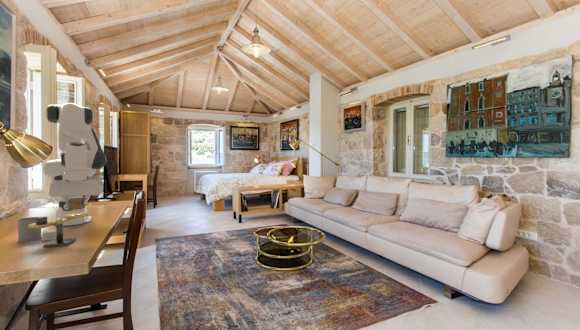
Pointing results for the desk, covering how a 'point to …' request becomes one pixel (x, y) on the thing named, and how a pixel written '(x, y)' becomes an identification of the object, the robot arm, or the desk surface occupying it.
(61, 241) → the balance
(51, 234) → the grey stone block
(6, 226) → the desk surface
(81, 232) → the desk surface
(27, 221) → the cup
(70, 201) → the walnut block
